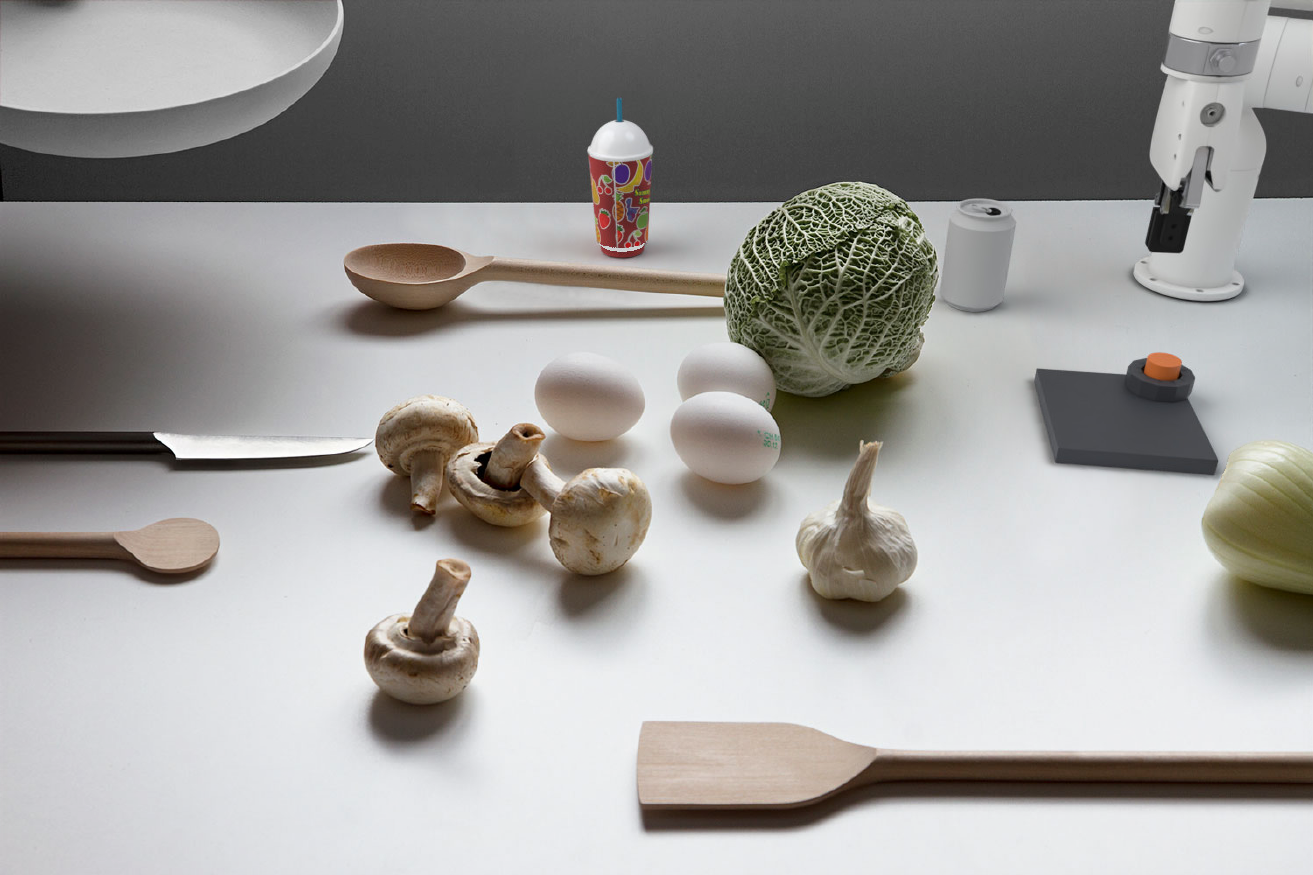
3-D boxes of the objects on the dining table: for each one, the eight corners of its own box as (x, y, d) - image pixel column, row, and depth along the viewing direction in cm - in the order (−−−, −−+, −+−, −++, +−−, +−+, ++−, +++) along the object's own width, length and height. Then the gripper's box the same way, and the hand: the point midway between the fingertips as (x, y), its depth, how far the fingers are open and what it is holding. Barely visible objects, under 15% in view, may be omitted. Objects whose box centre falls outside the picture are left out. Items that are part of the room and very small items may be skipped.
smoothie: (653, 262, 147) (652, 107, 137) (589, 262, 147) (583, 108, 137) (654, 238, 154) (653, 90, 144) (593, 239, 154) (587, 90, 144)
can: (1004, 317, 132) (1020, 219, 126) (938, 312, 134) (952, 214, 127) (1000, 291, 139) (1016, 197, 132) (938, 287, 140) (950, 193, 134)
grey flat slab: (1033, 380, 119) (1038, 350, 117) (1178, 390, 117) (1186, 359, 115) (1055, 463, 105) (1061, 431, 103) (1220, 476, 103) (1230, 443, 101)
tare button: (1140, 366, 115) (1144, 351, 114) (1173, 368, 114) (1177, 353, 114) (1147, 381, 112) (1151, 365, 111) (1181, 383, 112) (1185, 367, 111)
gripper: (1281, 78, 93) (1225, 283, 103) (1230, 37, 106) (1184, 223, 116) (1185, 76, 94) (1139, 279, 104) (1146, 35, 107) (1108, 220, 117)
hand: (1163, 249), depth 110 cm, fingers closed
